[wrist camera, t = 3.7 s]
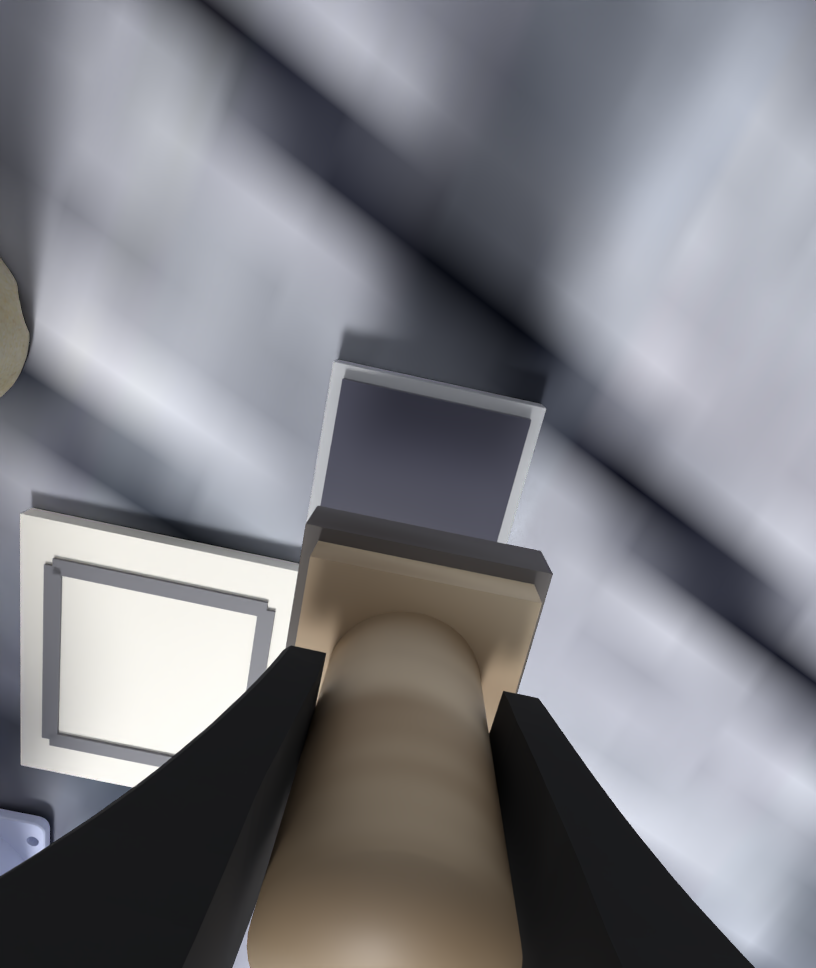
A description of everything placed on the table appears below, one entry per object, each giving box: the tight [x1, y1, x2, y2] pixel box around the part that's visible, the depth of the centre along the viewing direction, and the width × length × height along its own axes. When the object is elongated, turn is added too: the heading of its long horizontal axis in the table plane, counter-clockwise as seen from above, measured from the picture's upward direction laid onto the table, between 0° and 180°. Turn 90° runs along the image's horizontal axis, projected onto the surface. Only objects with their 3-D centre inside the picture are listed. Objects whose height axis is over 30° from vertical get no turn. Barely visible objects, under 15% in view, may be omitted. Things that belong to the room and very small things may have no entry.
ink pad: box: [306, 359, 546, 544], centre depth 18 cm, size 7×7×1 cm
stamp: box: [247, 505, 553, 968], centre depth 9 cm, size 5×5×7 cm
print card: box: [20, 508, 299, 787], centre depth 21 cm, size 11×10×1 cm
